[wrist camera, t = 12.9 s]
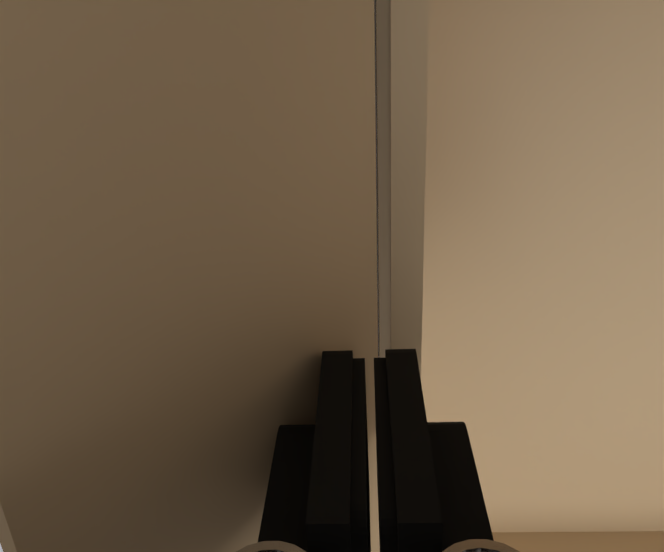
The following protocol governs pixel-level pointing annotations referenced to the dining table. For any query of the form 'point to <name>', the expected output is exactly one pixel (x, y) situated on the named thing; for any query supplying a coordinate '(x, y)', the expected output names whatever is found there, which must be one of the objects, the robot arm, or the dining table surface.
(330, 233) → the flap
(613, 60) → the kraft box
